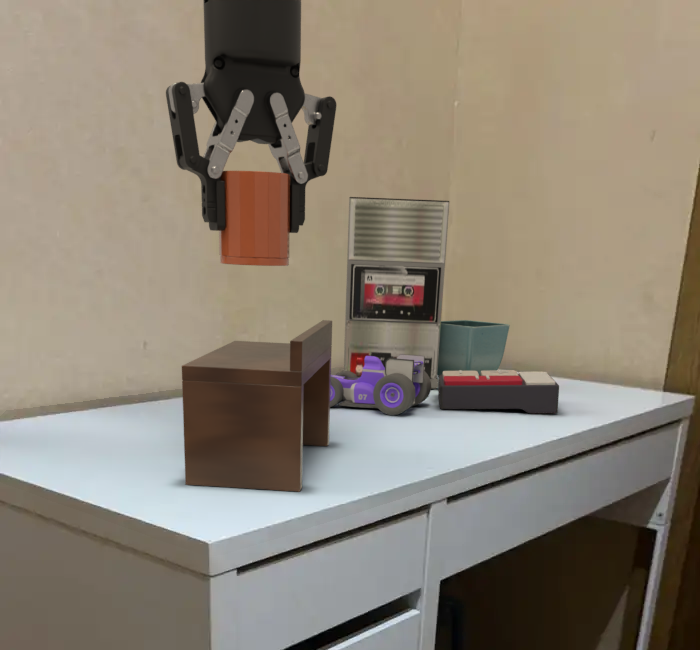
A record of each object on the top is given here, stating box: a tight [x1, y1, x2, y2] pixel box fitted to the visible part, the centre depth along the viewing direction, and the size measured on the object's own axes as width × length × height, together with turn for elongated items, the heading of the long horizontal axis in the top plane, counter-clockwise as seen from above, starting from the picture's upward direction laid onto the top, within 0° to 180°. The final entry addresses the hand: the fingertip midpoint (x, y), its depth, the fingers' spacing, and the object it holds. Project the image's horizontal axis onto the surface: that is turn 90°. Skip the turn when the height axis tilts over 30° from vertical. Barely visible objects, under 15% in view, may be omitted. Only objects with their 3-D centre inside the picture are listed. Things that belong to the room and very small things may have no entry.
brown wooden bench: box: [181, 319, 333, 492], centre depth 87 cm, size 10×20×12 cm, turn 174°
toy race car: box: [330, 354, 432, 416], centre depth 119 cm, size 10×15×6 cm, turn 70°
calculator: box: [437, 369, 560, 415], centre depth 124 cm, size 11×4×15 cm
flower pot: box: [437, 319, 511, 378], centre depth 139 cm, size 9×9×9 cm
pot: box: [218, 170, 290, 267], centre depth 78 cm, size 6×6×7 cm
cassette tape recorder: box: [343, 196, 450, 390], centre depth 133 cm, size 14×6×25 cm, turn 91°
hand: (254, 230), depth 78 cm, fingers closed on pot, 6 cm apart
